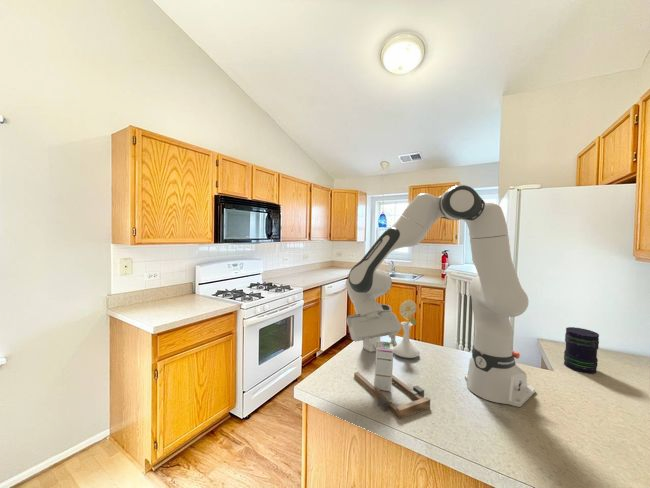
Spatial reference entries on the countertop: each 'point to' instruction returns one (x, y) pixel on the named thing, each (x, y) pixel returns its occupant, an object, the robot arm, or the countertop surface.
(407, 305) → the flower in vase
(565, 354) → the storage jar
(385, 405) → the beam slot
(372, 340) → the milk bottle
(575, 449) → the countertop surface
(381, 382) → the syrup box
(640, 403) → the countertop surface
